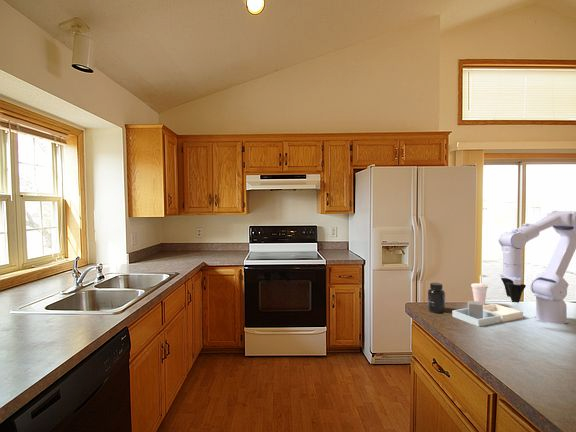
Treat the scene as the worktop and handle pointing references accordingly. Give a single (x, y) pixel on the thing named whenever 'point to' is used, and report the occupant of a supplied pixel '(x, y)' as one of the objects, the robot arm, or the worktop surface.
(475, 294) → the smoothie
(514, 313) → the bin
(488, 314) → the bin
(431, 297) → the supplement bottle
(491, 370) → the worktop surface
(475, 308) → the stone block
